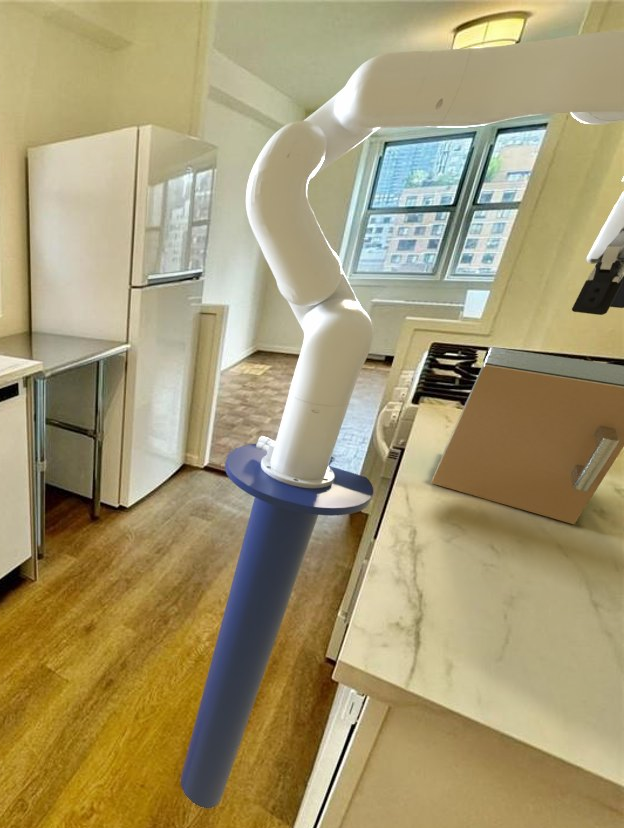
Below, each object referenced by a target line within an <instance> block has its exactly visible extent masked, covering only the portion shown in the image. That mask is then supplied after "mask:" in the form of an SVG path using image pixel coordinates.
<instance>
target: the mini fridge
mask: <svg viewBox="0 0 624 828" xmlns="http://www.w3.org/2000/svg"><path fill="white" fill-rule="evenodd" d="M485 364H486V365H492V366H498V367H505V368H511V369H517V370H524V371H530V372H536V373H543V374H549V375H555V376H562V377H568V378H574V379H581V380H587V381H593V382H599V383H606V384H612V385H618V386H624V365H620V364H614V363H606V362H599V361H592V360H585V359H578V358H572V357H571V358H570V357H563V356H555V355H549V354H542V353H535V352H530V351H529V352H527V351H521V350H515V349H506V348H499V347H494V346H493V347H492V346H491V347H489V350H488V353H487V355H486V356H485V359H484V361H483V363H482V366H481V367H480V370H479V372H478V375H477V377H476V379H475V382H474V384H473V386H472V388H471V391H470V393H469V395H468V397H467V399H466V401H465V403H464V406H463V408H462V410H461V412H460V414H459V417H458V418H457V421H456V424H455V426H454V429H453V431H452V432H451V435H450V436H449V439H448V442H447V443H446V446H445V448H444V450H443V452H442V455H441V457H440V459H439V462H438V464H437V467H436V470H435V471H434V474H433V476H434V475H435V473H436V471H437V468H438V466H439V464H440V462H441V460H442V457H443V455H444V453H445V451H446V449H447V446H448V444H449V442H450V440H451V437H452V435H453V433H454V431H455V429H456V426H457V424H458V422H459V420H460V418H461V415H462V413H463V411H464V409H465V406H466V404H467V402H468V400H469V398H470V395H471V393H472V391H473V389H474V387H475V384H476V382H477V380H478V378H479V375H480V373H481V371H482V369H483V367H484V365H485ZM432 480H433V478H432ZM432 480H431V481H432Z"/></svg>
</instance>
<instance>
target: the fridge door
mask: <svg viewBox="0 0 624 828" xmlns="http://www.w3.org/2000/svg"><path fill="white" fill-rule="evenodd" d="M478 375H479V374H478ZM469 395H470V394H469ZM464 406H465V405H464ZM460 415H461V414H460ZM455 426H456V425H455ZM451 435H452V434H451ZM450 437H451V436H450ZM446 446H447V445H446ZM623 449H624V386H618V385H612V384H606V383H599V382H593V381H587V380H581V379H574V378H568V377H562V376H555V375H549V374H543V373H536V372H530V371H524V370H517V369H511V368H505V367H498V366H492V365H486V364H485V365H484V367H483V369H482V371H481V373H480V375H479V378H478V380H477V382H476V384H475V387H474V389H473V391H472V393H471V395H470V398H469V400H468V402H467V404H466V406H465V409H464V411H463V413H462V415H461V418H460V420H459V422H458V424H457V426H456V429H455V431H454V433H453V435H452V437H451V440H450V442H449V444H448V446H447V449H446V451H445V453H444V455H443V454H442V455H443V457H442V456H441V457H442V460H441V462H440V461H439V462H440V464H439V463H438V464H439V466H438V465H437V467H438V468H437V467H436V469H437V471H436V470H435V472H436V473H435V472H434V474H435V475H434V474H433V477H432V479H433V480H431V484H432V485H433V484H434V485H437V486H440V487H443V488H447V489H450V490H453V491H458V492H460V493H464V494H467V495H471V496H474V497H478V498H481V499H485V500H488V501H492V502H496V503H499V504H502V505H506V506H509V507H512V508H516V509H519V510H523V511H526V512H529V513H533V514H537V515H539V516H543V517H547V518H550V519H554V520H558V521H561V522H564V523H567V524H570V525H575V524H576V522H577V521H578V520H579V518H580V516H581V515H582V513H583V511H584V510H585V508H586V507H587V505H588V503H589V502H590V501H591V499H592V497H593V496H594V494H595V492H596V491H597V490H598V488H599V487H600V485H601V483H602V482H603V480H604V478H605V477H606V476H607V474H608V472H609V471H610V469H611V468H612V466H613V464H614V462H616V459H618V457H619V455H620V453H621V452H622V450H623Z"/></svg>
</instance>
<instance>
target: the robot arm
mask: <svg viewBox="0 0 624 828" xmlns="http://www.w3.org/2000/svg"><path fill="white" fill-rule="evenodd" d="M554 114H571V116H572V117H573V118H574V119H576V120H577V121H579V122H580V123H583V124H589V125H607V124H608V125H609V124H614V123H620V122H624V29H619V30H608V31H607V30H606V31H598V32H590V33H581V34H575V35H568V36H563V37H556V38H549V39H542V40H541V39H540V40H533V41H523V42H518V43H512V44H505V45H494V46H482V47H481V46H480V47H469V48H468V47H467V48H450V49H427V50H412V51H397V52H388V53H387V52H386V53H383V54H379V55H376V56H374V57H371V58H369V59H368V60H366V61H365V62H363V63H362V64H361V65H360V66H359V67H357V69H356V70H355V71H354V72H353V73H352V74H351V76H350V77H349V79H348V80H347V82H346V83H345V86H344V87H343V88H341V89H340V90H339V91H337V93H335V95H333V96H331V98H330V99H329V100H328V101H326V102H325V103H324V104H323V105H321V106H320V107H319V108H317V110H315V111H314V112H312V113H311V114H310V115H309V116H307V117H306V118H305V119H303V120H298V121H297V120H296V121H292V122H289V123H287V124H286V125H284V126H282V127H281V128H280V129H278V130H277V131H276V132H275V133H274V134H272V136H271V137H270V138H269V139H268V141H267V142H266V143H265V145H263V148H262V149H261V151H260V153H259V154H258V156H257V158H256V160H255V162H254V163H253V166H252V168H251V171H250V173H249V177H248V180H247V185H246V190H245V192H246V193H245V210H246V216H247V219H248V223H249V225H250V228H251V230H252V233H253V236H254V237H255V239H256V241H257V244H258V245H259V248H260V250H261V252H262V254H263V257H264V259H265V260H266V262H267V264H268V267H269V269H270V270H271V273H272V275H273V277H274V279H275V281H276V286H277V289H278V291H279V293H280V295H282V297H283V298H284V299H285V300H286V301H287V303H288V305H289V306H290V307H289V308H291V310H292V313H293V314H294V316H295V318H296V320H297V322H298V324H299V326H300V327H301V329H302V332H303V341H302V345H301V349H300V352H299V356H298V360H297V362H296V366H295V369H294V372H293V376H292V380H291V383H290V386H289V390H288V395H287V398H286V403H285V406H284V410H283V413H282V417H281V420H280V423H279V424H280V425H279V428H278V432H277V434H276V435H277V436H276V438H275V440H273V439H271V438H270V437H267V436H265V435H260V437H258V440H257V443H255V444H256V448H258V449H260V450H263V451H266V453H267V455H266V456H264V457H263V458H262V461H261V468H262V470H263V471H264V472H265V473H266V474H267V475H269V476H270V477H272V478H273V479H276V480H278V481H280V482H283V483H285V484H288V485H292V486H296V487H302V488H323V487H327V486H329V485H331V484H332V483H333V481H334V477H335V475H334V472H333V471H332V469H330V468H329V467H328V465H329V462H330V459H331V456H332V457H333V452H334V450H335V447H336V444H337V441H338V437H339V435H340V432H341V429H342V425H343V423H344V420H345V417H346V414H347V411H348V408H349V405H350V403H351V402H350V401H351V399H352V396H353V393H354V389H355V387H356V383H357V382H358V379H359V376H360V374H361V371H362V369H363V367H364V364H365V362H366V360H367V358H368V356H369V354H370V351H371V349H372V345H373V341H374V325H373V322H372V320H371V317H370V316H369V314H368V313H367V312H366V311H365V309H364V308H363V307H362V306H361V304H360V302H359V300H358V298H357V297H356V294H355V292H354V290H353V288H352V286H351V284H350V282H349V280H348V278H347V276H346V274H345V272H344V269H343V268H342V263H341V260H340V257H339V256H338V254H337V253H336V252H335V251H334V250H333V248H332V247H331V245H330V243H329V242H328V240H327V238H326V237H325V233H324V232H323V230H322V228H321V227H320V224H319V221H318V220H317V217H316V215H315V212H314V210H313V209H312V206H311V204H310V200H309V197H308V185H309V182H310V180H311V179H313V178H314V177H316V176H317V175H318V174H319V173H321V172H322V171H324V170H325V169H326V168H328V167H329V166H330V165H332V164H333V163H334V162H336V161H338V160H339V159H341V157H343V156H344V155H346V154H347V153H349V152H350V151H352V150H353V149H354V148H355V147H357V146H358V145H359V144H361V143H362V142H363V141H364V140H366V139H367V138H369V137H370V136H371V135H372V134H374V133H375V132H376V131H377V130H379V129H386V128H387V129H390V128H391V129H392V128H394V129H395V128H398V129H401V128H469V127H480V126H486V125H491V124H495V123H500V122H503V121H508V120H514V119H518V118H524V117H530V116H531V117H532V116H533V117H534V116H542V115H554ZM621 182H624V177H623V178H622V180H621ZM585 260H586V262H587V263H588V264H591V265H594V268H593V269H592V271H591V272H590V273H589V275H588V277H587V280H585V282H584V284H583V286H582V288H581V290H580V292H579V294H578V295H577V298H576V300H575V301H574V304H573V305H572V307H571V311H572V312H574V313H581V314H588V315H589V314H590V315H596V316H597V315H598V316H603V315H605V314H607V313H608V312H609V309H610V308H616V309H618V308H619V309H624V191H623V192H622V193H621V195H620V196H619V199H618V200H617V202H616V203H615V205H614V206H613V209H612V210H611V212H610V214H609V215H608V217H607V219H606V221H605V223H604V225H603V226H602V228H601V230H600V232H599V234H598V235H597V237H596V240H595V241H594V242H593V245H592V247H591V249H590V250H589V251H588V254H587V256H586V259H585Z"/></svg>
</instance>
